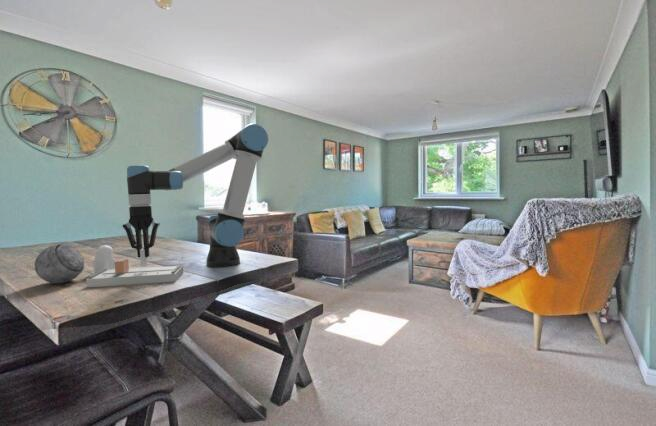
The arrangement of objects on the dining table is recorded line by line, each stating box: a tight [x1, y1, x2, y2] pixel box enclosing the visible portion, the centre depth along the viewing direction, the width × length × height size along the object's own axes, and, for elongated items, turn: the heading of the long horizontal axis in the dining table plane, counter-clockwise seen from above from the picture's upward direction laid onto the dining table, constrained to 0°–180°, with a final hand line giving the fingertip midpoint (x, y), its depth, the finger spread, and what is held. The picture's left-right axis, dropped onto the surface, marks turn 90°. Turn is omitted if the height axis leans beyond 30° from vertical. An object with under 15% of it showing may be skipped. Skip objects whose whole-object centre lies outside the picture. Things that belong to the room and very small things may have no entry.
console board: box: [85, 264, 184, 288], centre depth 130 cm, size 30×14×4 cm, turn 102°
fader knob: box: [114, 258, 130, 274], centre depth 128 cm, size 3×5×5 cm, turn 12°
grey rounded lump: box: [34, 243, 85, 284], centre depth 126 cm, size 15×14×15 cm
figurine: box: [93, 244, 117, 274], centre depth 140 cm, size 7×8×12 cm
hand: (144, 265), depth 130 cm, fingers closed
